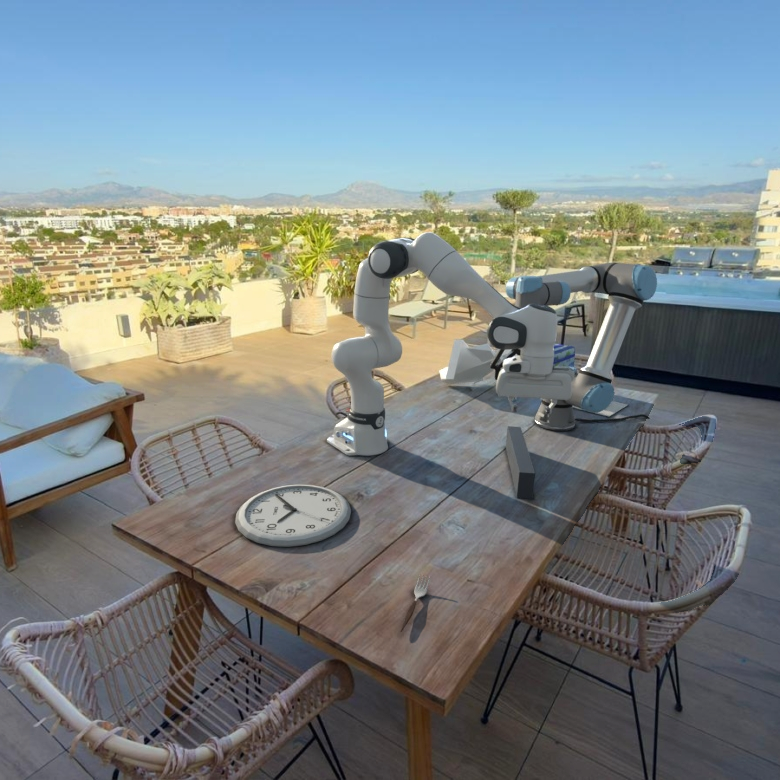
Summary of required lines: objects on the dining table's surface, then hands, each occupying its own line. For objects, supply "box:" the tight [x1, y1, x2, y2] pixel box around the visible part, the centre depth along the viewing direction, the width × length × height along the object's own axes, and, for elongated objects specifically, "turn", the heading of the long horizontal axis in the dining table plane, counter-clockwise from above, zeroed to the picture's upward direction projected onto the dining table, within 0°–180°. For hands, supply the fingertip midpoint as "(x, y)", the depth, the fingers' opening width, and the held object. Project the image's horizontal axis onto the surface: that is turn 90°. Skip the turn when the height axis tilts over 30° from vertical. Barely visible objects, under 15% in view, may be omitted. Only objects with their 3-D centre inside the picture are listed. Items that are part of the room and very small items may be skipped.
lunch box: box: [553, 343, 576, 367], centre depth 248 cm, size 26×11×21 cm, turn 134°
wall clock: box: [234, 484, 352, 548], centre depth 138 cm, size 30×2×30 cm
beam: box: [505, 425, 536, 500], centre depth 164 cm, size 36×4×8 cm, turn 173°
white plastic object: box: [438, 338, 519, 400], centre depth 245 cm, size 37×45×31 cm
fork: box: [400, 573, 431, 633], centre depth 105 cm, size 3×16×2 cm, turn 160°
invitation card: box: [573, 400, 629, 418], centre depth 226 cm, size 21×1×15 cm
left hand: (530, 412), depth 146 cm, fingers open, 8 cm apart
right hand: (519, 390), depth 171 cm, fingers open, 13 cm apart
